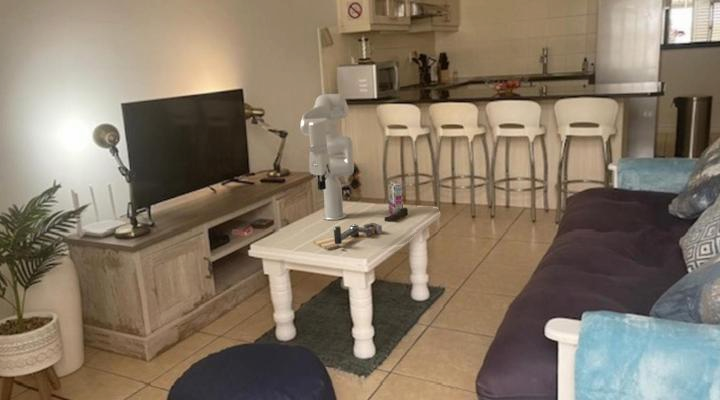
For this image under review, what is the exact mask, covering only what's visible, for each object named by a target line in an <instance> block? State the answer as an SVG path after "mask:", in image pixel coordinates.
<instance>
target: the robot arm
mask: <svg viewBox="0 0 720 400" xmlns="http://www.w3.org/2000/svg"><path fill="white" fill-rule="evenodd" d="M348 114H349V106H348V103H347V100H346V98H345V96H344V95H343V94H341V93H328V94H327V93H325V94H320V95H319V96H318V97H317V98H316V99H315V103H314V106H313V108H311V109H309V110H308V111H306V112H305V113H303V115H302V117H301V120H300V125H299V127H300V132H301V134H302V135H303V136H306V137H309V146H310V147H309V148H310V152H309V159H308V161H309V163H308V164H309V165H308V166H309V173H310V174H311V175H313V176H314V177H315V178H316V181H317V189H318V190H319V191H322V190H323V202H324V203H323V204H324V209H323V211H324V214H322V219H323V220H325V221H326V220H327V221H337V220H344V219H345V218H346V217H347V214H346V213H345V212H344V206H343V191H342V183H341V181H340V180H339V178H338V177H346V176H348V177H349V176H353V174H354V172H355V171H354V170H355V163H354V147H353V146H354V145H353V140H352V138H351V137H350V136H348V135H343V136H341V135H338V126H337V124H336V122H334V121H333V120H336V119H345V118H347V116H348ZM330 156H344V157H330Z"/></svg>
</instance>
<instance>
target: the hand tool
mask: <svg viewBox="0 0 720 400" xmlns="http://www.w3.org/2000/svg"><path fill="white" fill-rule="evenodd" d="M408 215H409V211H408V208H407V207H403V208H402V209H400V211H399V212H397V213H395V214H391V215H388V216H385V217H384V222H387V223H391V222H396V221H397V220H399V219H401V218H406V217H407V216H408Z"/></svg>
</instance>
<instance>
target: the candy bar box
mask: <svg viewBox="0 0 720 400" xmlns="http://www.w3.org/2000/svg"><path fill="white" fill-rule="evenodd" d="M387 189H388V193H387V194H388V213H390V214H391V215H393V214H395V213H397V212H399V211H400V209H402V208H404V194H403V193H404V191H403V184H402V183H400V182H398V181H388V182H387Z"/></svg>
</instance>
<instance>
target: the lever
mask: <svg viewBox="0 0 720 400" xmlns="http://www.w3.org/2000/svg"><path fill="white" fill-rule="evenodd" d="M359 226H360V225H358V224H356V223H353V224H351V225H349V228H348V229H346V230H345V231H343V232H342V230H341V229H342V228H341V226H338V225H337V226H334V227H333V237H334V240H335V244H340V243H342V240H344V239H346V238H347V237H349V236H351V237H357V236H359V232H361V233H366V236H372V229H370V228H364V227H361V226H360V227H359Z"/></svg>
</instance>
